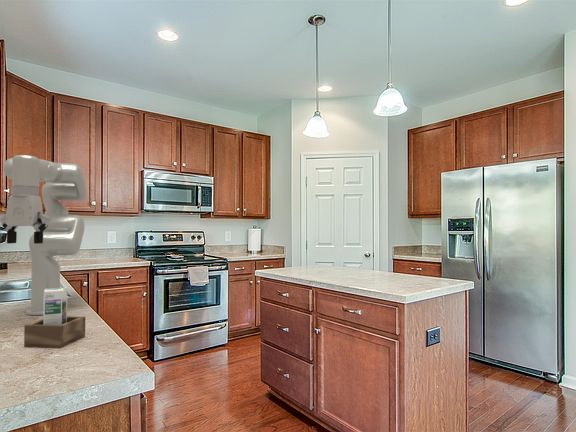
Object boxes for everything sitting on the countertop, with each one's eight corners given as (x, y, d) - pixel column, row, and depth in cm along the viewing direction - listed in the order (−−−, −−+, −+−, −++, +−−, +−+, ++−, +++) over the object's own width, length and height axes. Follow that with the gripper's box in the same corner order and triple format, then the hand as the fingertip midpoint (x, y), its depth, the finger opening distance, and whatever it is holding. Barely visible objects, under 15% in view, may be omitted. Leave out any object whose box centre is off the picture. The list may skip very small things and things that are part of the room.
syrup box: (42, 341, 106) (43, 290, 106) (45, 336, 111) (45, 287, 111) (65, 339, 108) (66, 289, 109) (67, 333, 114) (67, 286, 114)
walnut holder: (52, 335, 115) (52, 316, 115) (85, 336, 114) (85, 316, 114) (24, 346, 104) (24, 325, 105) (60, 348, 103) (60, 326, 104)
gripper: (-8, 191, 122) (-9, 243, 121) (41, 191, 120) (40, 244, 119) (11, 193, 129) (10, 242, 129) (57, 193, 127) (57, 242, 127)
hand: (25, 243), depth 124 cm, fingers open, 9 cm apart
